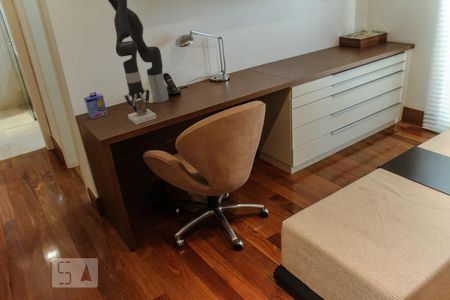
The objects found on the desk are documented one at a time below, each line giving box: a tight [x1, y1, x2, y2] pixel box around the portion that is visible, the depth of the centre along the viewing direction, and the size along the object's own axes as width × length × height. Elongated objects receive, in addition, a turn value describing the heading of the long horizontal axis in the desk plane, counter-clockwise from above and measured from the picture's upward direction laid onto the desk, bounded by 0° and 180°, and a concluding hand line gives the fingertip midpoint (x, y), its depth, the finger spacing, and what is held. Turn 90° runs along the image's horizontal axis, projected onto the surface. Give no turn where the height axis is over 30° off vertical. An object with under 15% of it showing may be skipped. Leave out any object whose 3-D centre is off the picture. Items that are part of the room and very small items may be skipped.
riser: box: [127, 108, 157, 125], centre depth 199 cm, size 12×12×3 cm
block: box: [135, 98, 147, 114], centre depth 197 cm, size 5×5×6 cm
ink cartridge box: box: [83, 91, 108, 120], centre depth 209 cm, size 10×6×14 cm, turn 127°
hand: (140, 110), depth 198 cm, fingers closed on block, 5 cm apart
